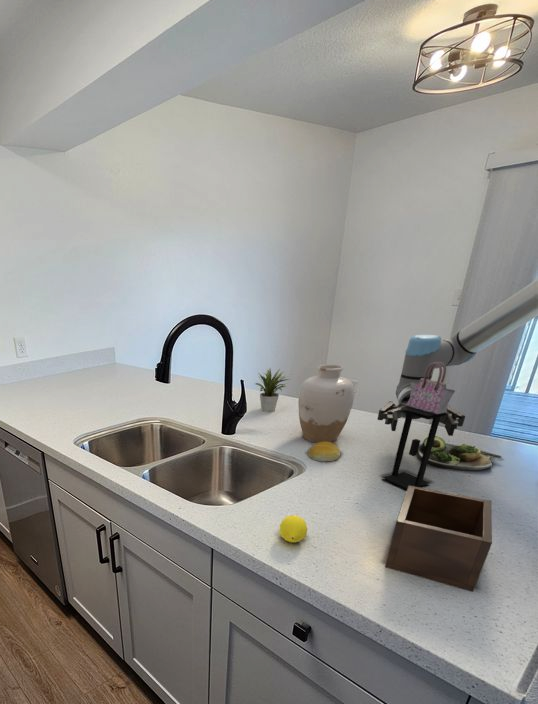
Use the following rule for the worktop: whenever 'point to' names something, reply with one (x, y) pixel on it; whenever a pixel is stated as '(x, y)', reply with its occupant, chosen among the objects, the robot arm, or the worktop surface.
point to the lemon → (293, 528)
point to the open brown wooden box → (442, 537)
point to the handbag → (426, 404)
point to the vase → (325, 404)
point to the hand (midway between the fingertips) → (422, 427)
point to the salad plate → (456, 456)
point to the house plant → (270, 391)
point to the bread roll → (324, 451)
